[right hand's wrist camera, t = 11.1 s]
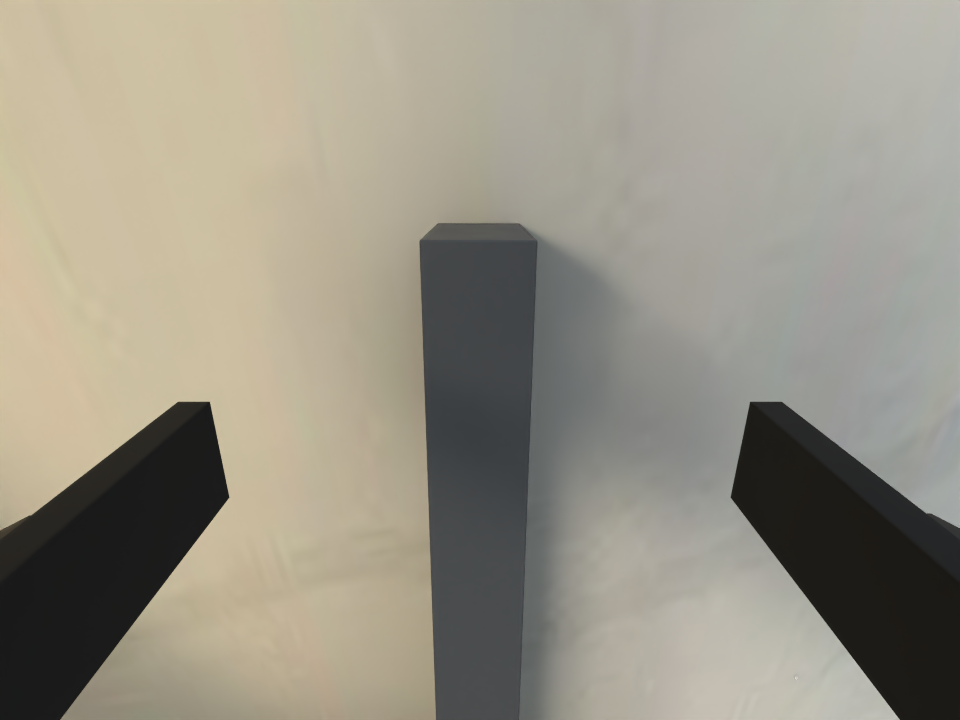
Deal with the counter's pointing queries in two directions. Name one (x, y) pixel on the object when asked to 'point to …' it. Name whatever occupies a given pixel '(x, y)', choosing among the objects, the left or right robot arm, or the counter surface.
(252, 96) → the counter surface
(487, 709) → the bar
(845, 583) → the right robot arm
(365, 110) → the counter surface
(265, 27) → the counter surface
